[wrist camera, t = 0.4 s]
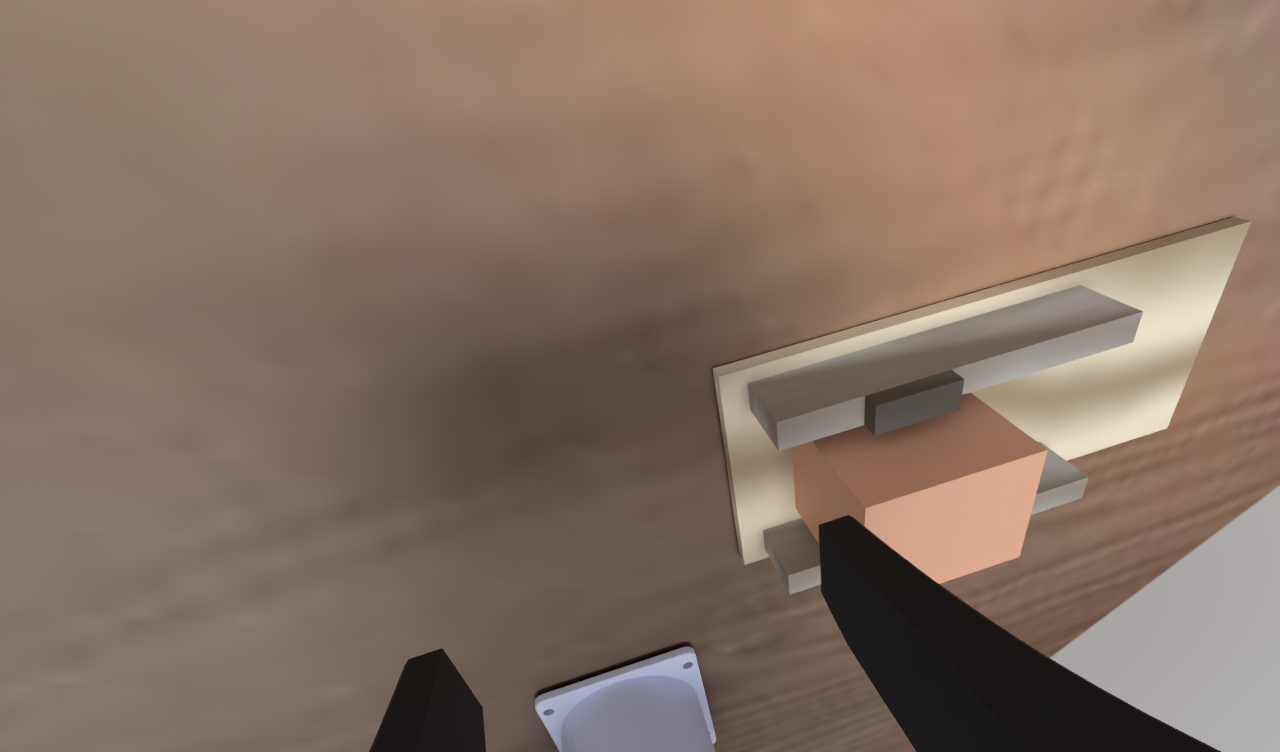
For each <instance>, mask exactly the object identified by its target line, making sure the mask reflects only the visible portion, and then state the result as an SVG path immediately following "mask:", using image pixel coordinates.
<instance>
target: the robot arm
mask: <svg viewBox="0 0 1280 752" xmlns="http://www.w3.org/2000/svg"><path fill="white" fill-rule="evenodd" d="M819 547H820V570H821V592H822V594H823V596H824V599H825V601H826V603H827V605H828V607H829V609H830V611H831V613H832V615H833V617H834V619H835V621H836V623H837V625H838V627H839V628H840V630H841V632H842V634H843V636H844V638H845V640H846V642H847V644H848V646H849V647H850V649H851V650H852V652H853V654H854V655H855V657H856V658H857V660H858V661H859V663H860V665H861V666H862V668H863V669H864V671H865V672H866V674H867V676H868V677H869V679H870V680H871V682H872V683H873V685H874V686H875V688H876V690H877V691H878V693H879V694H880V696H881V697H882V699H883V700H884V702H885V703H886V705H887V707H888V708H889V710H890V711H891V713H892V714H893V716H894V717H895V719H896V721H897V722H898V724H899V725H900V727H901V728H902V730H903V731H904V733H905V734H906V736H907V738H908V739H909V741H910V742H911V744H912V745H913V747H914V748H915V750H916V751H917V752H1221V751H1219V750H1217V749H1215V748H1213V747H1211V746H1209V745H1207V744H1205V743H1203V742H1201V741H1199V740H1197V739H1195V738H1193V737H1191V736H1189V735H1187V734H1185V733H1183V732H1181V731H1179V730H1177V729H1175V728H1173V727H1171V726H1169V725H1167V724H1165V723H1164V722H1161V721H1160V720H1158V719H1156V718H1154V717H1152V716H1150V715H1148V714H1146V713H1144V712H1142V711H1141V710H1139V709H1137V708H1135V707H1133V706H1131V705H1130V704H1128V703H1126V702H1124V701H1123V700H1121V699H1119V698H1117V697H1115V696H1113V695H1112V694H1110V693H1108V692H1106V691H1105V690H1103V689H1101V688H1099V687H1097V686H1096V685H1094V684H1092V683H1091V682H1089V681H1087V680H1085V679H1084V678H1082V677H1080V676H1078V675H1077V674H1075V673H1073V672H1072V671H1070V670H1068V669H1067V668H1065V667H1063V666H1062V665H1060V664H1058V663H1056V662H1055V661H1053V660H1052V659H1050V658H1048V657H1047V656H1045V655H1044V654H1042V653H1040V652H1039V651H1037V650H1036V649H1034V648H1032V647H1031V646H1029V645H1028V644H1026V643H1024V642H1023V641H1021V640H1020V639H1018V638H1017V637H1015V636H1014V635H1012V634H1011V633H1009V632H1008V631H1006V630H1005V629H1003V628H1002V627H1000V626H999V625H997V624H995V623H994V622H992V621H991V620H990V619H988V618H987V617H985V616H984V615H982V614H981V613H979V612H978V611H976V610H975V609H973V608H972V607H971V606H969V605H968V604H966V603H965V602H964V601H962V600H961V599H959V598H958V597H957V596H955V595H954V594H952V593H951V592H950V591H948V590H947V589H945V588H944V587H943V586H941V585H940V584H938V583H937V582H936V581H934V580H933V579H931V578H930V577H929V576H927V575H926V574H925V573H923V572H922V571H921V570H919V569H918V568H917V567H915V566H914V565H913V564H912V563H910V562H909V561H908V560H906V559H905V558H904V557H902V556H901V555H900V554H898V553H897V552H896V551H895V550H893V549H892V548H891V547H890V546H888V545H887V544H886V543H884V542H883V541H882V540H881V539H879V538H878V537H877V536H876V535H874V534H873V533H872V532H871V531H870V530H868V529H867V528H866V527H865V526H863V525H862V524H861V523H860V522H858V521H857V520H856V519H855V518H853V517H852V516H850V515H847V516H844V517H841V518H838V519H835V520H832V521H829V522H826V523H823V524H819ZM535 710H536V711H537V713H538V715H539V717H540V718H541V720H542V722H543V724H544V725H545V727H546V729H547V731H548V732H549V734H550V736H551V738H552V739H553V741H554V743H555V744H556V746H557V748H558V750H559V751H560V752H715V749H714V746H713V744H714V743H715V742H716V735H715V731H714V727H713V723H712V719H711V715H710V711H709V707H708V703H707V699H706V695H705V690H704V686H703V682H702V678H701V674H700V670H699V666H698V662H697V658H696V654H695V651H694V649H693V648H692V647H687V646H686V647H682V648H679V649H676V650H673V651H670V652H667V653H664V654H661V655H658V656H655V657H652V658H649V659H646V660H643V661H640V662H637V663H634V664H631V665H628V666H625V667H622V668H619V669H616V670H613V671H610V672H607V673H604V674H601V675H598V676H595V677H592V678H589V679H586V680H583V681H580V682H577V683H574V684H571V685H568V686H565V687H562V688H559V689H556V690H553V691H550V692H547V693H544V694H541V695H539V696H538V697H537V698H536V699H535ZM369 752H486V748H485V734H484V721H483V708H482V706H481V705H480V703H479V702H478V700H477V699H476V697H475V696H474V694H473V693H472V691H471V690H470V688H469V687H468V685H467V684H466V682H465V681H464V679H463V678H462V677H461V675H460V674H459V672H458V671H457V669H456V668H455V666H454V665H453V663H452V662H451V660H450V659H449V657H448V656H447V654H446V653H445V651H444V650H443V649H439V650H436V651H433V652H429V653H426V654H423V655H420V656H417V657H414V658H411V659H409V660H408V661H407V663H406V664H405V666H404V669H403V671H402V674H401V676H400V679H399V681H398V684H397V686H396V689H395V691H394V694H393V696H392V698H391V701H390V703H389V706H388V708H387V711H386V713H385V716H384V718H383V720H382V723H381V725H380V728H379V730H378V732H377V735H376V737H375V740H374V742H373V744H372V747H371V749H370V751H369Z"/></svg>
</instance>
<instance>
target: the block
mask: <svg viewBox="0 0 1280 752" xmlns="http://www.w3.org/2000/svg"><path fill="white" fill-rule="evenodd" d="M792 452H793V469H794V487H795V504H796V509H797V511H798V512H799V514H800V516H801V517H802V519H803V520H804V522H805V523H806V525H807V526H808V528H809V529H810V531H811V533H812V534H813V536H814V537H815V539H816V540H817V542H818V543H819V524H823V523H826V522H829V521H832V520H835V519H838V518H841V517H844V516H847V515H850V516H852V517H853V518H855V519H856V520H857V521H858V522H860V523H861V524H862V525H863V526H865V527H866V528H867V529H868V530H870V531H871V532H872V533H873V534H874V535H876V536H877V537H878V538H879V539H881V540H882V541H883V542H884V543H886V544H887V545H888V546H890V547H891V548H892V549H893V550H895V551H896V552H897V553H898V554H900V555H901V556H902V557H904V558H905V559H906V560H908V561H909V562H910V563H912V564H913V565H914V566H915V567H917V568H918V569H919V570H921V571H922V572H923V573H925V574H926V575H927V576H929V577H930V578H931V579H933V580H934V581H936V582H937V583H938V584H940V583H943V582H946V581H949V580H952V579H955V578H958V577H961V576H964V575H967V574H970V573H972V572H975V571H978V570H981V569H984V568H987V567H990V566H993V565H996V564H999V563H1002V562H1005V561H1008V560H1011V559H1014V558H1017V557H1019V556H1020V553H1021V549H1022V545H1023V541H1024V538H1025V534H1026V530H1027V526H1028V523H1029V519H1030V515H1031V511H1032V508H1033V504H1034V500H1035V496H1036V493H1037V489H1038V485H1039V482H1040V478H1041V474H1042V470H1043V467H1044V463H1045V459H1046V455H1047V452H1048V449H1046V448H1045V447H1043V446H1042V445H1041V444H1039V443H1038V442H1037V441H1035V440H1034V439H1033V438H1031V437H1030V436H1029V435H1027V434H1026V433H1025V432H1023V431H1022V430H1021V429H1019V428H1018V427H1016V426H1015V425H1014V424H1012V423H1011V422H1010V421H1008V420H1007V419H1006V418H1004V417H1003V416H1002V415H1000V414H999V413H998V412H996V411H995V410H993V409H992V408H991V407H989V406H988V405H987V404H985V403H984V402H983V401H981V400H980V399H979V398H977V397H976V396H975V395H973V394H972V393H971V392H970V393H967V394H963V395H962V399H961V406H960V409H959V410H956V411H953V412H950V413H946V414H943V415H940V416H937V417H933V418H930V419H927V420H924V421H921V422H917V423H914V424H911V425H908V426H904V427H901V428H898V429H895V430H891V431H888V432H885V433H882V434H879V435H875V436H874V435H873V433H872V432H871V431H870V430H869V429H868V428H867V427H866V426H865V425H863V426H859V427H856V428H853V429H850V430H846V431H843V432H840V433H836V434H833V435H830V436H827V437H823V438H820V439H817V440H814V441H810V442H807V443H804V444H801V445H797V446H794V447H792Z"/></svg>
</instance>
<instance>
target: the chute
mask: <svg viewBox="0 0 1280 752" xmlns="http://www.w3.org/2000/svg"><path fill="white" fill-rule="evenodd" d="M1250 223H1251V221H1249V220H1245V219H1240V218H1236V217H1232V218H1228V219H1225V220H1221V221H1218V222H1214V223H1211V224H1208V225H1204V226H1201V227H1197V228H1194V229H1190V230H1187V231H1183V232H1180V233H1177V234H1173V235H1170V236H1166V237H1163V238H1159V239H1156V240H1153V241H1149V242H1146V243H1142V244H1139V245H1135V246H1132V247H1128V248H1125V249H1122V250H1118V251H1115V252H1111V253H1108V254H1104V255H1101V256H1098V257H1094V258H1091V259H1087V260H1084V261H1080V262H1077V263H1073V264H1070V265H1067V266H1063V267H1060V268H1056V269H1053V270H1049V271H1046V272H1043V273H1039V274H1036V275H1032V276H1029V277H1025V278H1022V279H1018V280H1015V281H1012V282H1008V283H1005V284H1001V285H998V286H994V287H991V288H987V289H984V290H981V291H977V292H974V293H970V294H967V295H963V296H960V297H957V298H953V299H950V300H946V301H943V302H939V303H936V304H932V305H929V306H926V307H922V308H919V309H915V310H912V311H908V312H905V313H902V314H898V315H895V316H891V317H888V318H884V319H881V320H877V321H874V322H871V323H867V324H864V325H860V326H857V327H853V328H850V329H847V330H843V331H840V332H836V333H833V334H829V335H826V336H822V337H819V338H816V339H812V340H809V341H805V342H802V343H798V344H795V345H791V346H788V347H785V348H781V349H778V350H774V351H771V352H767V353H764V354H761V355H757V356H754V357H750V358H747V359H743V360H740V361H736V362H733V363H730V364H726V365H723V366H719V367H716V368H713V374H714V381H715V388H716V395H717V402H718V409H719V416H720V423H721V430H722V437H723V444H724V451H725V457H726V464H727V471H728V478H729V485H730V492H731V499H732V506H733V513H734V520H735V527H736V534H737V541H738V548H739V554H740V557H741V559H742V561H743V563H744V565H746V564H749V563H752V562H755V561H758V560H761V559H764V558H768V557H770V559H771V561H772V563H773V565H774V567H775V568H776V570H777V572H778V574H779V576H780V578H781V580H782V582H783V583H784V585H785V587H786V589H787V591H788V593H789V595H791V594H794V593H797V592H800V591H803V590H806V589H809V588H812V587H815V586H818V585H821V570H820V547H819V543H818V542H817V540H816V539H815V537H814V536H813V534H812V533H811V531H810V529H809V528H808V526H807V525H806V523H805V522H804V520H803V519H802V517H801V516H800V514H799V512H798V511H797V509H796V504H795V487H794V469H793V452H792V447H794V446H797V445H801V444H804V443H807V442H810V441H814V440H817V439H820V438H823V437H827V436H830V435H833V434H836V433H840V432H843V431H846V430H850V429H853V428H856V427H859V426H863V425H865V426H866V427H867V428H868V429H869V430H870V431H871V432H872V433H873V435H874V436H875V435H879V434H882V433H885V432H888V431H891V430H895V429H898V428H901V427H904V426H908V425H911V424H914V423H917V422H921V421H924V420H927V419H930V418H933V417H937V416H940V415H943V414H946V413H950V412H953V411H956V410H959V409H960V406H961V399H962V395H963V394H967V393H970V392H971V393H972V394H973V395H975V396H976V397H977V398H979V399H980V400H981V401H983V402H984V403H985V404H987V405H988V406H989V407H991V408H992V409H993V410H995V411H996V412H998V413H999V414H1000V415H1002V416H1003V417H1004V418H1006V419H1007V420H1008V421H1010V422H1011V423H1012V424H1014V425H1015V426H1016V427H1018V428H1019V429H1021V430H1022V431H1023V432H1025V433H1026V434H1027V435H1029V436H1030V437H1031V438H1033V439H1034V440H1035V441H1037V442H1038V443H1039V444H1041V445H1042V446H1043V447H1045V448H1046V449H1048V452H1047V455H1046V459H1045V463H1044V467H1043V470H1042V474H1041V478H1040V482H1039V485H1038V489H1037V493H1036V496H1035V500H1034V504H1033V508H1032V511H1031V515H1032V514H1035V513H1038V512H1041V511H1044V510H1047V509H1050V508H1053V507H1056V506H1059V505H1062V504H1065V503H1068V502H1071V501H1075V500H1078V499H1081V498H1082V496H1083V493H1084V490H1085V486H1086V483H1087V480H1088V476H1086V475H1085V474H1083V473H1082V472H1081V471H1079V470H1078V469H1077V468H1075V467H1074V466H1073V465H1071V464H1070V463H1069V462H1067V460H1070V459H1073V458H1076V457H1079V456H1083V455H1086V454H1089V453H1092V452H1095V451H1098V450H1101V449H1104V448H1107V447H1110V446H1113V445H1117V444H1120V443H1123V442H1126V441H1129V440H1132V439H1135V438H1138V437H1141V436H1144V435H1147V434H1150V433H1154V432H1157V431H1160V430H1163V429H1166V428H1167V427H1168V425H1169V422H1170V420H1171V417H1172V415H1173V412H1174V410H1175V408H1176V405H1177V403H1178V400H1179V398H1180V395H1181V393H1182V390H1183V388H1184V385H1185V383H1186V381H1187V378H1188V376H1189V373H1190V371H1191V368H1192V366H1193V363H1194V361H1195V358H1196V356H1197V354H1198V351H1199V349H1200V346H1201V344H1202V341H1203V339H1204V336H1205V334H1206V331H1207V329H1208V327H1209V324H1210V322H1211V319H1212V317H1213V314H1214V312H1215V309H1216V307H1217V304H1218V302H1219V300H1220V297H1221V295H1222V292H1223V290H1224V287H1225V285H1226V282H1227V280H1228V277H1229V275H1230V273H1231V270H1232V268H1233V265H1234V263H1235V260H1236V258H1237V255H1238V253H1239V250H1240V248H1241V246H1242V243H1243V241H1244V238H1245V236H1246V233H1247V231H1248V228H1249V226H1250Z"/></svg>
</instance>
